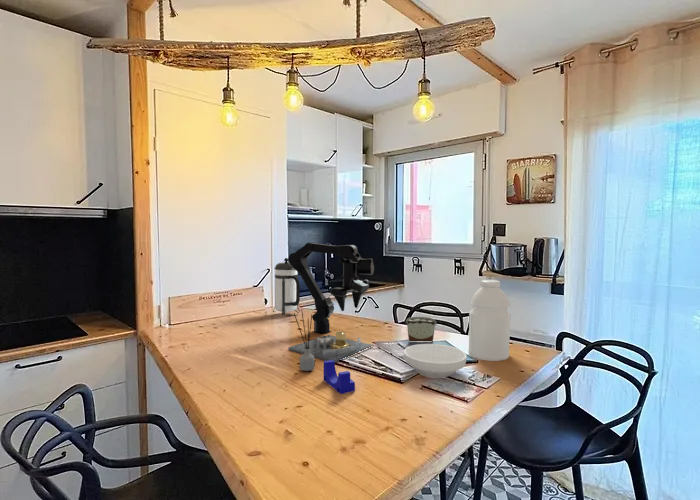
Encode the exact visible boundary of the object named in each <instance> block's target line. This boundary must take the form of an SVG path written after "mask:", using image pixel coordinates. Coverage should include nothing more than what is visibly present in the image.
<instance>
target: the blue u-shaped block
mask: <svg viewBox="0 0 700 500" xmlns="http://www.w3.org/2000/svg"><path fill="white" fill-rule="evenodd" d="M335 365H336V364H335V361H333V360H329V361H325V360H323V381H324V382H325V383H327V384H328V385H329V386H330V387H331V388H332V389H334V390H335V391H336V392H337V393H339V394H340V395H343V394H347V393H351V392H355V391H356V382H355V381H354V380H353V379H351V372H350V371H349V370H346V371H339V372H338V373H337V370H336V366H335Z"/></svg>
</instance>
